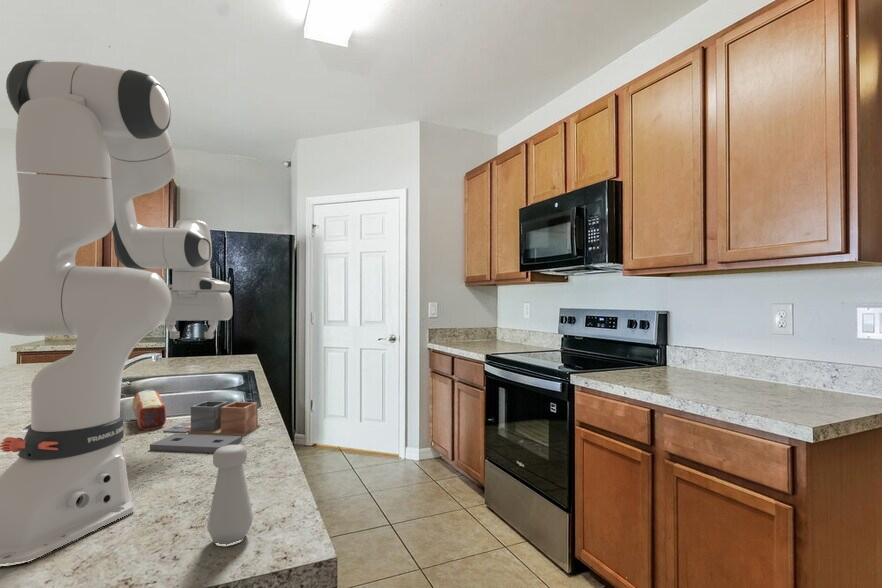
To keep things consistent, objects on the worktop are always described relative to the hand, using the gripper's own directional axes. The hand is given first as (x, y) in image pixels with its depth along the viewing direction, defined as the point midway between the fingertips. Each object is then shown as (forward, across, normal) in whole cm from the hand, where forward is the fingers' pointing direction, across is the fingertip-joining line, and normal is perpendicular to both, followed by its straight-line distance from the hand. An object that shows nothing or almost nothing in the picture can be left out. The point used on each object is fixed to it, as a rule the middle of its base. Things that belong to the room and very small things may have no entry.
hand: (191, 338), depth 115 cm
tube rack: (+23, +8, +2) cm, 25 cm away
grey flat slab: (+24, +9, -10) cm, 27 cm away
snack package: (+24, -18, +8) cm, 31 cm away
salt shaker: (+25, +40, -46) cm, 66 cm away
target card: (+23, -3, +2) cm, 24 cm away
